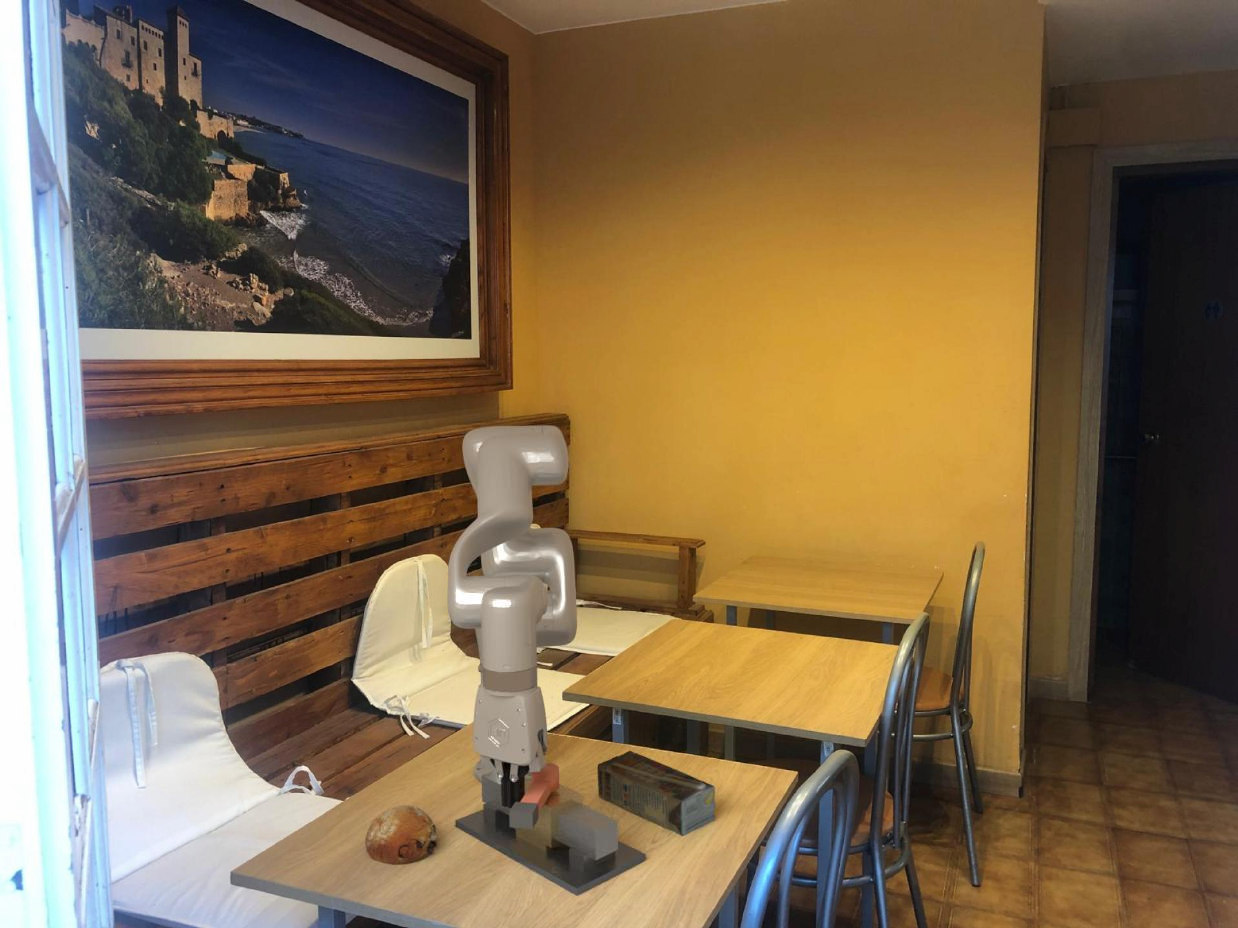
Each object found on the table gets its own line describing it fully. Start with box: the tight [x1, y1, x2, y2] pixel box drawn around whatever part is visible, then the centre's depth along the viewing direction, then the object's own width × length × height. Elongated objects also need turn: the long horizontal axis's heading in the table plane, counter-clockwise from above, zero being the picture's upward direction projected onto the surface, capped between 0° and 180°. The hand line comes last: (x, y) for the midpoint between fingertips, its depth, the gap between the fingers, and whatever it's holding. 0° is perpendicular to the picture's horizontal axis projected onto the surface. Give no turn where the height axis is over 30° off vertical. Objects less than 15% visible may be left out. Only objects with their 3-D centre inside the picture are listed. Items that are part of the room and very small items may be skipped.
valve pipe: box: [454, 770, 646, 896], centre depth 145 cm, size 28×13×8 cm, turn 44°
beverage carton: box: [597, 750, 716, 837], centre depth 156 cm, size 8×19×7 cm, turn 43°
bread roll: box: [364, 804, 439, 866], centre depth 145 cm, size 10×10×8 cm
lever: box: [509, 762, 560, 829], centre depth 139 cm, size 15×4×3 cm, turn 170°
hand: (513, 803), depth 139 cm, fingers closed
